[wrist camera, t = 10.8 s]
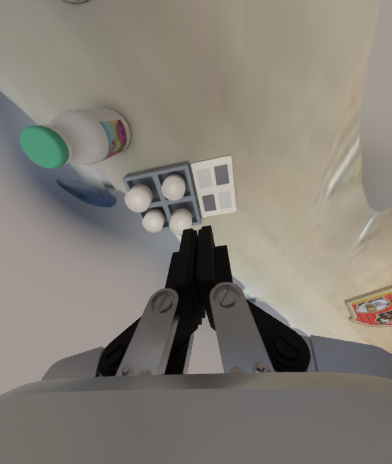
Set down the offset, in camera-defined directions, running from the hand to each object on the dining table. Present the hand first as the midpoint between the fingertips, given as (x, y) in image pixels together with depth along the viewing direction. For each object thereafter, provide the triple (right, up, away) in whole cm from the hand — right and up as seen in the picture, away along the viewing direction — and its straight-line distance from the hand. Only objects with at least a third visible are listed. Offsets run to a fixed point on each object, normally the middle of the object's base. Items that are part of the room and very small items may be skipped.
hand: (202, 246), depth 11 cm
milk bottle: (-18, +22, +26) cm, 38 cm away
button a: (-12, +10, +30) cm, 34 cm away
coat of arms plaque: (+74, -27, +57) cm, 98 cm away
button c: (-11, +6, +36) cm, 38 cm away
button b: (-5, +13, +31) cm, 34 cm away
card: (+4, +11, +32) cm, 34 cm away
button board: (-8, +10, +34) cm, 36 cm away
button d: (-4, +5, +33) cm, 33 cm away
